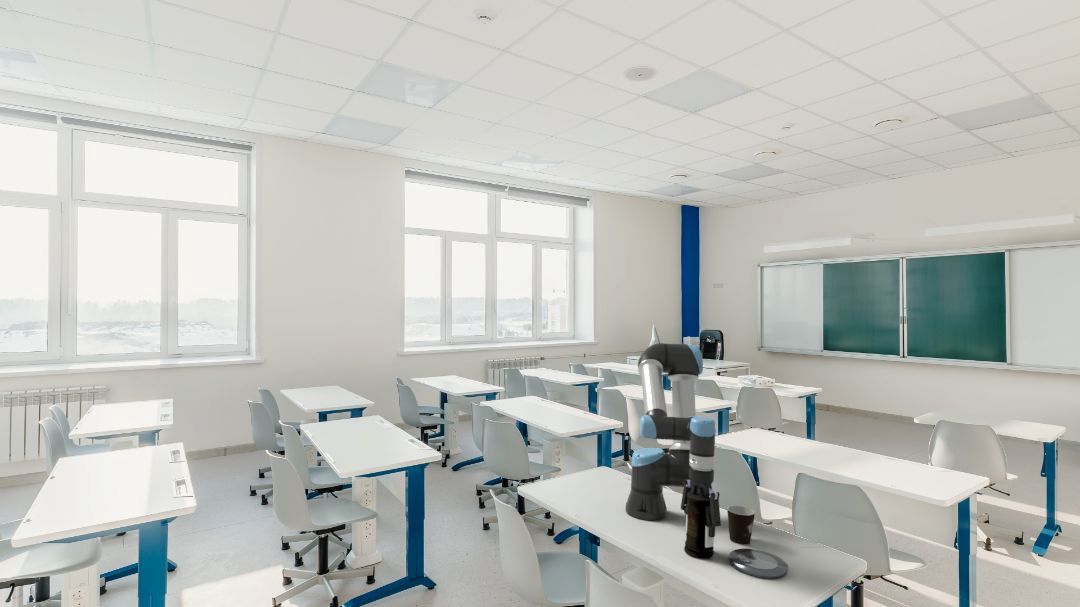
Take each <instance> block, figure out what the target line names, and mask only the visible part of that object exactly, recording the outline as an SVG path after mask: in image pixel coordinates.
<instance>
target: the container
mask: <svg viewBox="0 0 1080 607" xmlns="http://www.w3.org/2000/svg"><path fill="white" fill-rule="evenodd" d="M690 492H691V491H690ZM690 492H688V493H687V498H688V507H687V508H688V516H687V533H686V532H685V537H686V539H685V542H684V547H683V550H684V552H685V554H686V555H687V556H689V557H691V558H695V559H699V560H708V559H709V560H710V559H712V558H713V556H714V554H715V552H714V546H713V547H708V548H706V547H705V526H706V525H708V524H707V520H706V516H705V515H706V513H705V508H706V506H707V507H708V506H710V498H709V497H708V498H704V499H702V498H700V496H698V495H696V494H692V493H690ZM705 504H706V505H705ZM711 522H712V521H711Z"/></svg>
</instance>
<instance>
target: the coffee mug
mask: <svg viewBox="0 0 1080 607" xmlns="http://www.w3.org/2000/svg"><path fill="white" fill-rule="evenodd" d="M726 509H727V521H728V523H727V524H728V533H729V540H730V541H731V542H733V543H735V544H738V545H742V546H747V545H750V544H751V541H752V534H753V527H754V521H755V514H756V512H755V510H754V509H752V508H750V507H747V506H744V505H736V504H735V505H734V504H733V505H729V506H727V507H726Z"/></svg>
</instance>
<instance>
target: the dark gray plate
mask: <svg viewBox="0 0 1080 607" xmlns="http://www.w3.org/2000/svg"><path fill="white" fill-rule="evenodd" d="M728 558H729V560H728V561H729V564H730V566H732V568H733V569H735V570H737V571H738V572H740V573H743V574H744V575H747V576H749V577H753V578H757V579H763V580H778V579H782V578H785V577H786V576H787V574H788V564H787V563H786V562H785V560H784V559H783V558H780V557H779V556H778V555H776V554H773V553H770V552H768V551H765V550H760V549H757V548H737V549H734V550H732V551H730V552H729V557H728Z"/></svg>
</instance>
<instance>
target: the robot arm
mask: <svg viewBox="0 0 1080 607" xmlns="http://www.w3.org/2000/svg"><path fill="white" fill-rule="evenodd" d="M703 366H704V362H703V355H702V352H701V349H700V347H698V346H697V345H694V344H688V343H663V342H659V343H655V344H652V345H650V346H649V347H647V348H646V349H645V350H643V352H642V354H641V355H640V356H639V358H638V363H637V372H638V374H639V375H640V377H641V386H642V388H641V389H642V396H643V407H644V408H643V409H644V414H643V415H641V416H640V418H639V435H640V436H641V438H643V439H650V440H670V441H672V445H671V446H670V447H669V448H668V453H665V451H664V449H662V448H660V447H659V448H657V447H645V448H639V449H637V450H635V451H633V453H632V457H631V463H630V465H631V481H630V492H629V494H628V496H627V500H626V503H625V512H626V514H628V515H629V516H631V517H633V518H635V519H638V520H643V521H660V520H663V519H665V518H666V517H667V516H668V513H667V512H668V507H667V505H666V501H665V497H664V494H663V493H664V492H663V491H664V490H663V488H664V487H670V488H673V487H674V488H683V490H682V495H681V501H680V502H681V503H680V510H682V511H684V514H685V517H684V518H685V519H684V523H685V534H686V533H687V516H688V508H687V507H688V498H687V493H688V492H690V491H691V492H690V493H692V494H696V495H698V496H700V498H702V499H704V498H708V497H709V498H710V506H708V507H707V506H706V508H705V513H706V515H705V516H706V520H707V524H708V525H706V526H705V547H706V548H708V547H714V539H715V536H716V528H717V527H720V526H722V520H721V511H720V509H721V508H720V495H721V494H720V492H718V491H715V490H713V486H712V485H713V482H714V479H715V470H714V468H715V447H716V446H715V445H716V433H717V431H716V430H717V429H716V421H715V419H713V418H711V417H708V416H707V417H706V416H697V415H696V389H695V388H696V387H695V386H696V385H695V384H696V382H697V381H698V380H699V376H700V375H702V374H703V370H704V367H703ZM662 374H667V379H668V380H669V381H670V382H671V400H672V403H671V404H672V410H671V412H672V416H668V411H667V410H668V409H667V404H666V396H665V390H664V384H663V383H664V382H663V377H662V376H663V375H662ZM705 505H706V504H705ZM711 521H712V522H711Z"/></svg>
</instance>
